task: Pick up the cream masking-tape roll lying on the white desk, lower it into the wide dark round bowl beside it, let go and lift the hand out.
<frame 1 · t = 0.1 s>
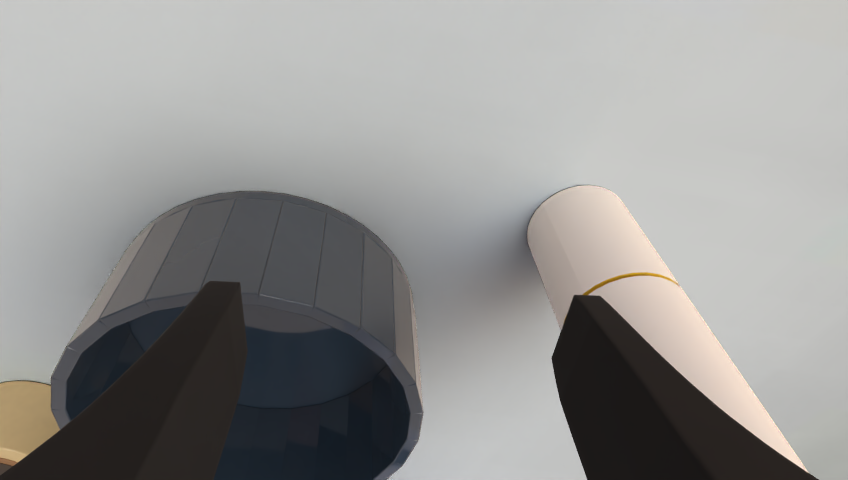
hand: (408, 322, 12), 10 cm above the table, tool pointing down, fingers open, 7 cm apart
dark round bowl: (271, 313, 25), on the table
tape roll: (37, 414, 28), on the table
tube: (575, 226, 24), on the table
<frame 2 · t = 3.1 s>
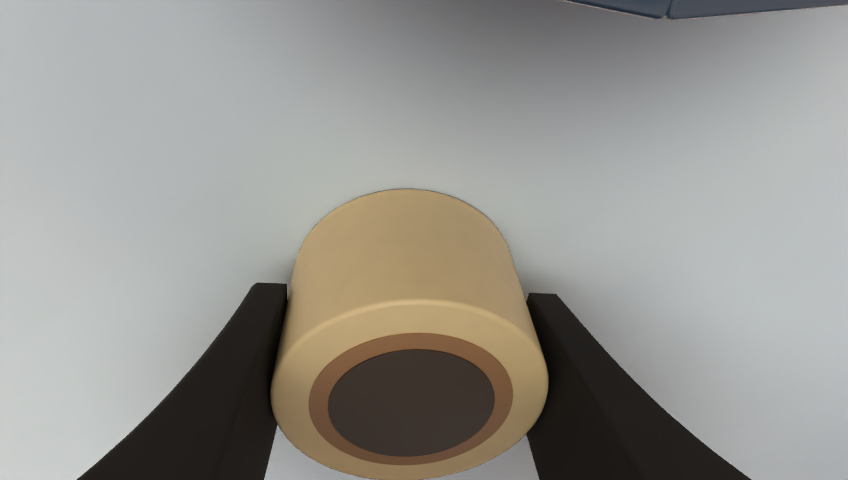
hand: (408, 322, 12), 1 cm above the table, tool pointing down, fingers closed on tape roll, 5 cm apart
tape roll: (404, 281, 13), on the table, touching gripper
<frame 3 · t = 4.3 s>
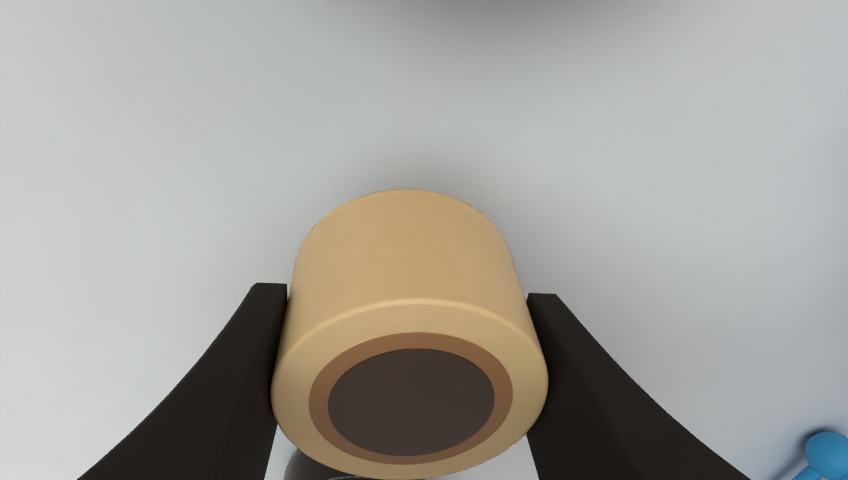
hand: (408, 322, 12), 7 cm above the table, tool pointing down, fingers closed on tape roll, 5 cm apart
tape roll: (404, 280, 13), point 6 cm above the table, touching gripper
molecular structure: (824, 479, 32), on the table
supplement bottle: (356, 463, 27), on the table
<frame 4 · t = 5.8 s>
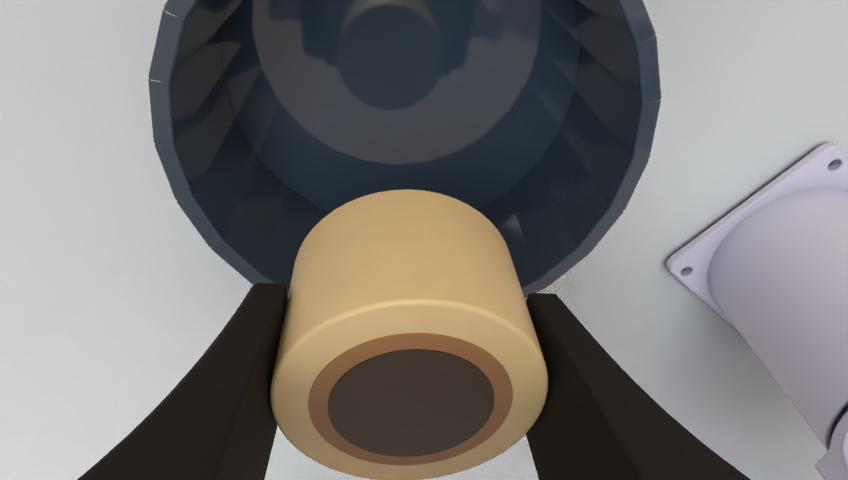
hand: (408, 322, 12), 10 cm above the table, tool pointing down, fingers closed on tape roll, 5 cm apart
dark round bowl: (403, 74, 19), on the table
tape roll: (403, 281, 13), point 9 cm above the table, touching gripper
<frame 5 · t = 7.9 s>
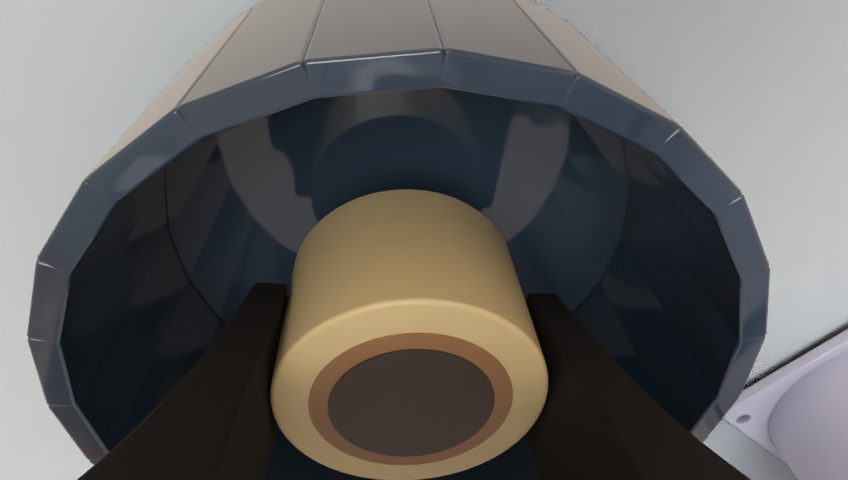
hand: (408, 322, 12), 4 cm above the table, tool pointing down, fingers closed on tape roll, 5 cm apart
dark round bowl: (402, 223, 15), on the table
tape roll: (403, 281, 13), point 2 cm above the table, touching gripper
when the fingers open (2 cm above the table, at t = 9.0 s): tape roll stays where it is, resting on dark round bowl.
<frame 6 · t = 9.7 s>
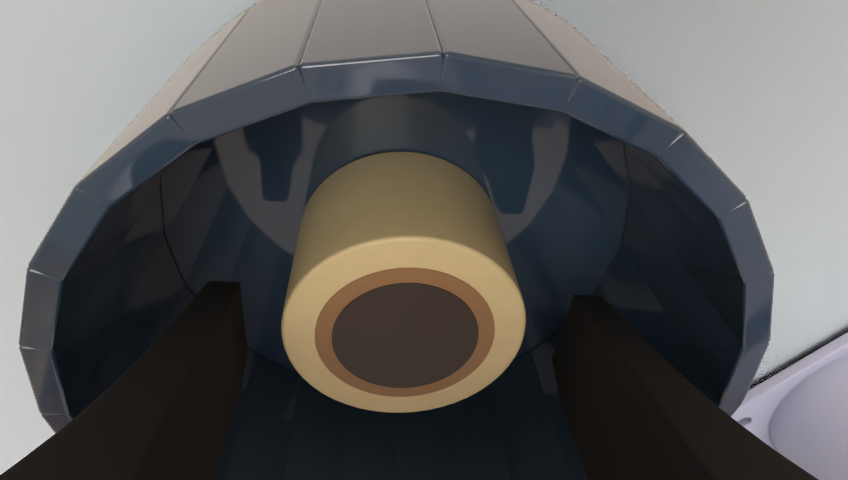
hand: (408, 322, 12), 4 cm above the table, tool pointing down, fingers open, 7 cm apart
dark round bowl: (401, 226, 15), on the table
tape roll: (399, 238, 15), point 1 cm above the table, touching dark round bowl
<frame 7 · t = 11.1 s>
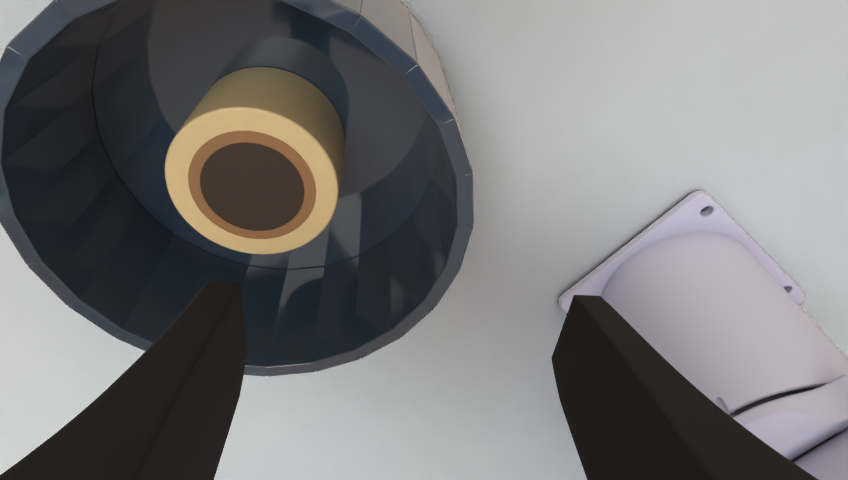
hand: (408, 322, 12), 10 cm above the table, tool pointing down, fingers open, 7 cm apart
dark round bowl: (276, 131, 20), on the table
tape roll: (272, 137, 20), point 1 cm above the table, touching dark round bowl
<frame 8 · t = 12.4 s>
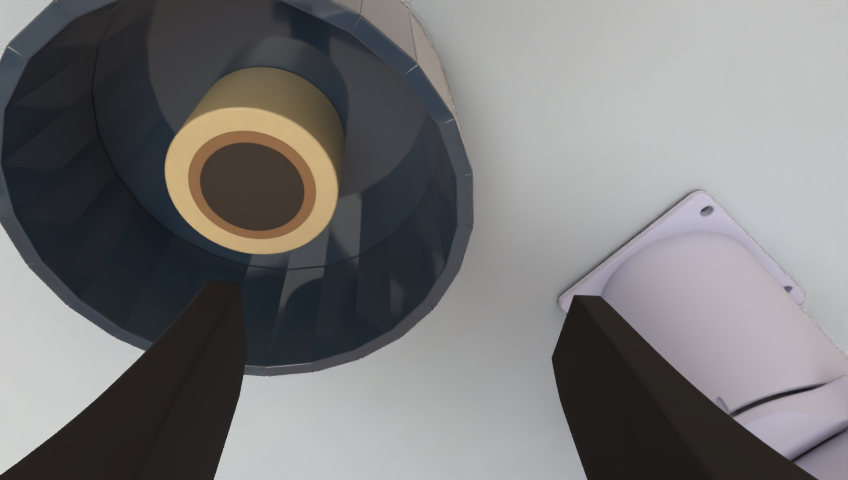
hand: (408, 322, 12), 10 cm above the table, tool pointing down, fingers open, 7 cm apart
dark round bowl: (276, 131, 20), on the table
tape roll: (272, 137, 20), point 1 cm above the table, touching dark round bowl
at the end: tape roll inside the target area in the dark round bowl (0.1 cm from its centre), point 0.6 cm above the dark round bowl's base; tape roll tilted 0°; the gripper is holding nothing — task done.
